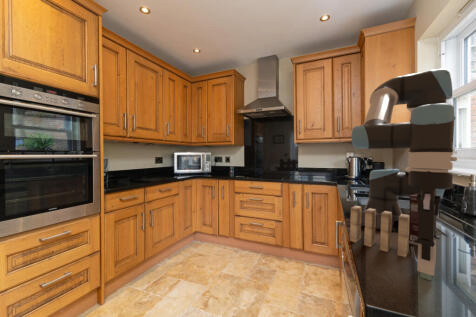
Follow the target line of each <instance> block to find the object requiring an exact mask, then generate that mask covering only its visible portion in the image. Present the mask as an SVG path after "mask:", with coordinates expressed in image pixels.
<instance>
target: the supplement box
mask: <svg viewBox="0 0 476 317" xmlns="http://www.w3.org/2000/svg"><path fill="white" fill-rule="evenodd" d="M408 215H410V216H409V244H410V245H411V244H412V245H413V246H418V243H415V242H414V240H417V239H418V225H419V212H418V201H417V194H414V195H411V196H410V198H409V213H408Z"/></svg>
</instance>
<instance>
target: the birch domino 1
mask: <svg viewBox="0 0 476 317" xmlns="http://www.w3.org/2000/svg"><path fill="white" fill-rule="evenodd" d="M362 208H363V207H362V206H359V205H354V206H352V207H350V217H351V218H350V226H349V227H350V228H349V230H350V231H349V242H353V243H357V242H358V241H360V240H361V237H362V226H361V211H363V210H362Z"/></svg>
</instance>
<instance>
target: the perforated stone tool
mask: <svg viewBox="0 0 476 317" xmlns="http://www.w3.org/2000/svg"><path fill="white" fill-rule="evenodd" d="M381 213H383V212H378V211H376V229H375V230H381ZM394 218H395V216H394V215H393V214H392V227H393V226H394V224H395V222H396V221H395V220H394ZM349 219H351V216H350V217H349ZM364 226H365V211H364V210H361V227H364Z"/></svg>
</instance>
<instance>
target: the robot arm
mask: <svg viewBox="0 0 476 317" xmlns="http://www.w3.org/2000/svg"><path fill="white" fill-rule="evenodd" d="M452 97H453V82H452V77H451V73H450V70H449V69H447V68H437V69H430V70H425V71H424V70H423V71H419V72H415V73H410V74H405V75H400V76H395V77H393V78H392V77H391V79H388V80H386V81H385V82H383V83H381V84H380V85H379V86H377V87H376V88H375V89H374V90H373V91H372V92H371V94H370V97H369V104H370V105H369V108H368V111H367V113H366V116H365V118H364V121H363V124H361V125H356V126H354V127H353V128H352V129H351V135H350V136H351V145H352V147H353V148H355V149H365V150H372V149H373V150H375V149H377V150H378V149H383V150H384V149H409V152H408V166H407V167H405V168H404V171H400V169H399V168H390V169H389V168H387V169H373V170H371V171H370V173H369V178H368V181H369V182H368V184H369V185H368V200H367V202H366V204H365V207H364V210H363V211H365V210H367V209H369V208H371V209H376V211H378V212H384V211H389V212H392V214H393V215H394V216H395V218H394V220H395V221H394V222H399V216H400V215H401V214H403V213H402V209H401V207H400V204H399V197H400V198H406V199H407V198H408V199H410V196H411V195H414V194H417V201H418V212H419V225H418V239H417V240H414V242H415V243H418V245H417V272H423V273H426V274H429V275H432V277H434V276H435V268H436V258H437V257H436V255H437V253H436V252H437V240H441V235H439V234H437V232H438V231H437V216H439V213H440V205H441V200H442V198H443V196H444V193H445V191H446V190H450V189H452V188H453V180H454V179H453V173H452V172H449V171H451V170H453V162H457V161H458V157H456V156H453V155H454V133H455V120H456V116H455V107H454V106H453V104H450V103H447V100H450V99H452ZM398 105H399V106H400V105H406V110H408V111H410V119H409V122H397V123H396V122H395V123H394V122H393V123H391V122H392V116H393V111H394V107H395V106H398Z"/></svg>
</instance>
